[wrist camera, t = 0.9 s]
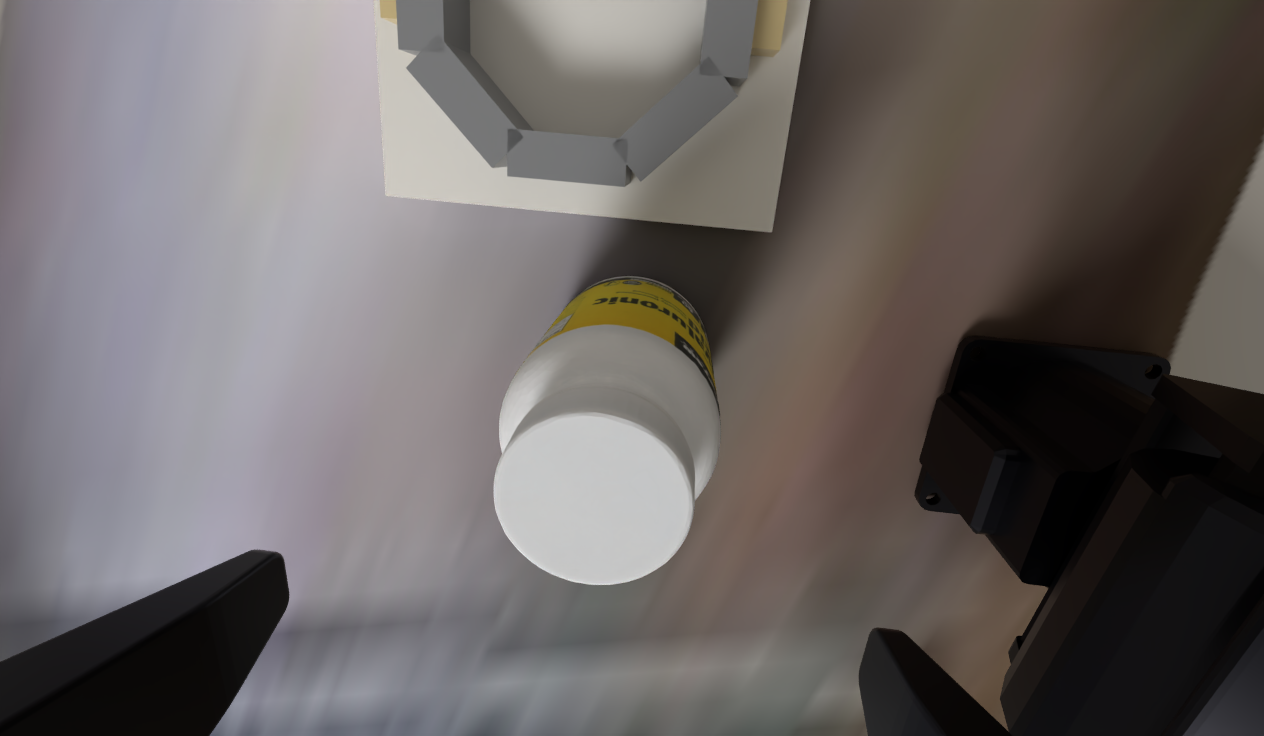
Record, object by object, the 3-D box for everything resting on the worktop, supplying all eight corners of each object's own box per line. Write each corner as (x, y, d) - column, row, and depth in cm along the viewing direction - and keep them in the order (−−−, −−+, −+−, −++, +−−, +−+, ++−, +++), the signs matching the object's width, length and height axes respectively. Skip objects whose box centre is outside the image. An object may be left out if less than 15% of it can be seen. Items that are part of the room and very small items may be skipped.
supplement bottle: (741, 335, 20) (793, 491, 11) (646, 445, 22) (621, 659, 13) (614, 238, 19) (554, 318, 10) (525, 360, 21) (405, 523, 12)
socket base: (838, -214, 15) (876, -298, 12) (767, 228, 19) (782, 242, 16) (376, -243, 15) (308, -330, 13) (399, 193, 19) (351, 201, 16)
